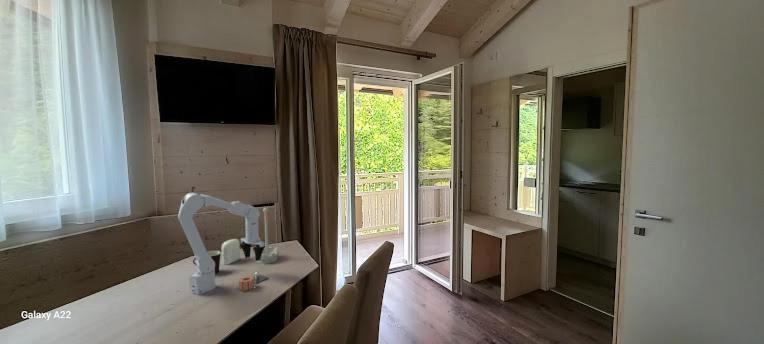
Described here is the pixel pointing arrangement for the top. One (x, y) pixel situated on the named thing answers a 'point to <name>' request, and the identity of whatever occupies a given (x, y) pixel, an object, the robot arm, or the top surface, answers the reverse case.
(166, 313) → the top surface
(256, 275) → the square peg base
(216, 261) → the coffee mug
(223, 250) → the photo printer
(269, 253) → the flag stand
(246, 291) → the stand
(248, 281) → the ring
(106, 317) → the top surface
